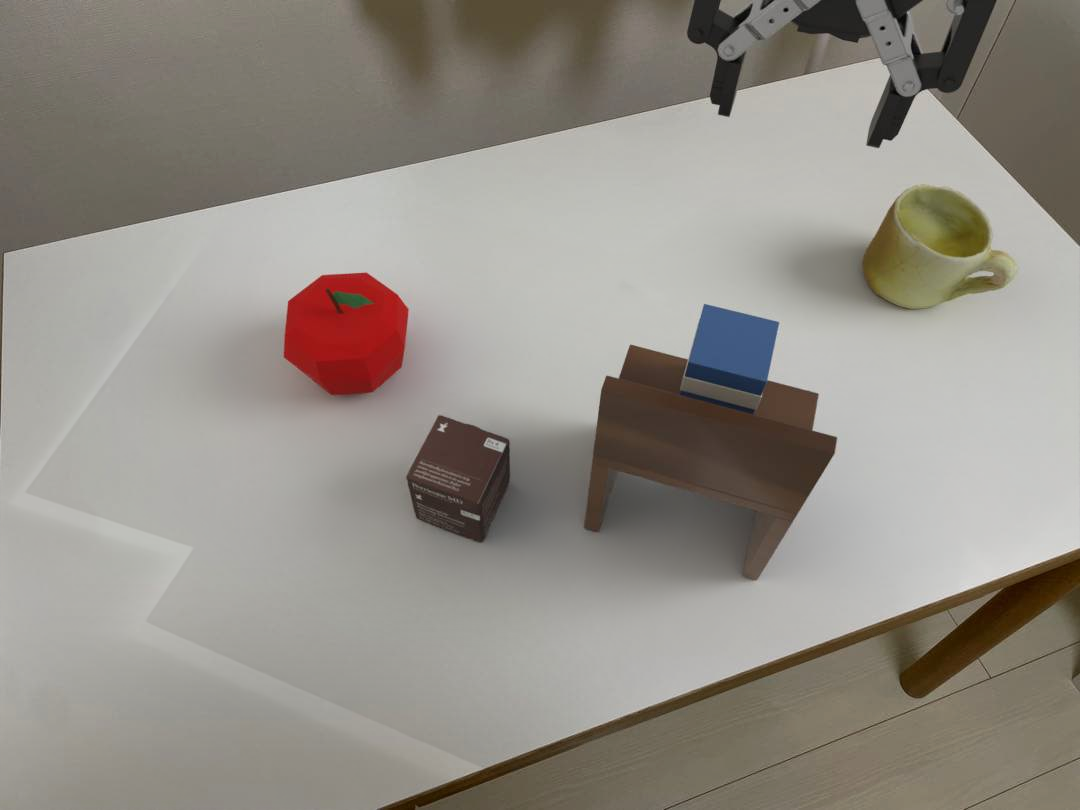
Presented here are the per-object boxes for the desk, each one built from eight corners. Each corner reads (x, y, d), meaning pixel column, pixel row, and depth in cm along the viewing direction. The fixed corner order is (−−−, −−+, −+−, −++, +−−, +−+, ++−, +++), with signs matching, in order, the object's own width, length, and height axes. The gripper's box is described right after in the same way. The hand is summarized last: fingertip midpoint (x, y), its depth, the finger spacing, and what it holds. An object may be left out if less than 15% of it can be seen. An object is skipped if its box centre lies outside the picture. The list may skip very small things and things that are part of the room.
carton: (687, 364, 62) (703, 302, 56) (756, 381, 61) (780, 321, 55) (671, 420, 59) (687, 362, 53) (743, 439, 58) (767, 382, 52)
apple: (275, 394, 74) (243, 323, 66) (328, 305, 80) (304, 229, 71) (387, 426, 73) (368, 357, 64) (432, 332, 78) (421, 258, 70)
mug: (825, 262, 81) (896, 185, 73) (874, 236, 87) (946, 163, 79) (916, 357, 78) (1001, 287, 70) (961, 324, 84) (1043, 256, 76)
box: (414, 519, 68) (402, 476, 62) (445, 458, 71) (437, 412, 65) (483, 545, 67) (478, 504, 61) (512, 482, 70) (510, 437, 64)
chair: (616, 427, 73) (641, 271, 56) (778, 472, 71) (855, 323, 54) (583, 528, 68) (600, 390, 51) (757, 581, 65) (835, 453, 49)
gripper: (1078, -209, 36) (928, 108, 50) (748, -255, 38) (691, 60, 52) (1082, -126, 32) (919, 193, 46) (715, -183, 35) (663, 138, 48)
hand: (798, 122), depth 49 cm, fingers open, 8 cm apart
